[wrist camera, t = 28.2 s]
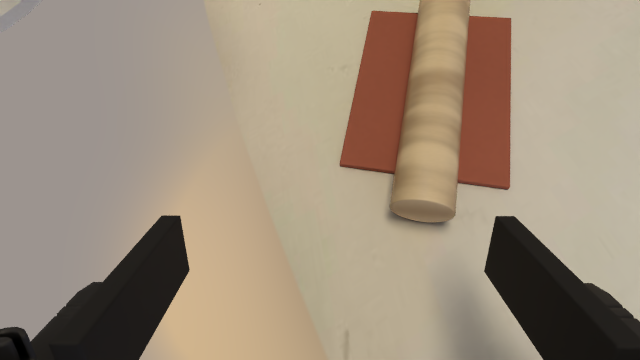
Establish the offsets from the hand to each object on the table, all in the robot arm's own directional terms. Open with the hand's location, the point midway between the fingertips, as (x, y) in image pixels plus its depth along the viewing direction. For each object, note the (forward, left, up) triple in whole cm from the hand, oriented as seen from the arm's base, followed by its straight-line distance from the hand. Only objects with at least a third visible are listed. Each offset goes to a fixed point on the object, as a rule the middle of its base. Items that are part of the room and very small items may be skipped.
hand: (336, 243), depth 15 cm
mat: (+4, +16, -10) cm, 19 cm away
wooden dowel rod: (+4, +15, -9) cm, 18 cm away
